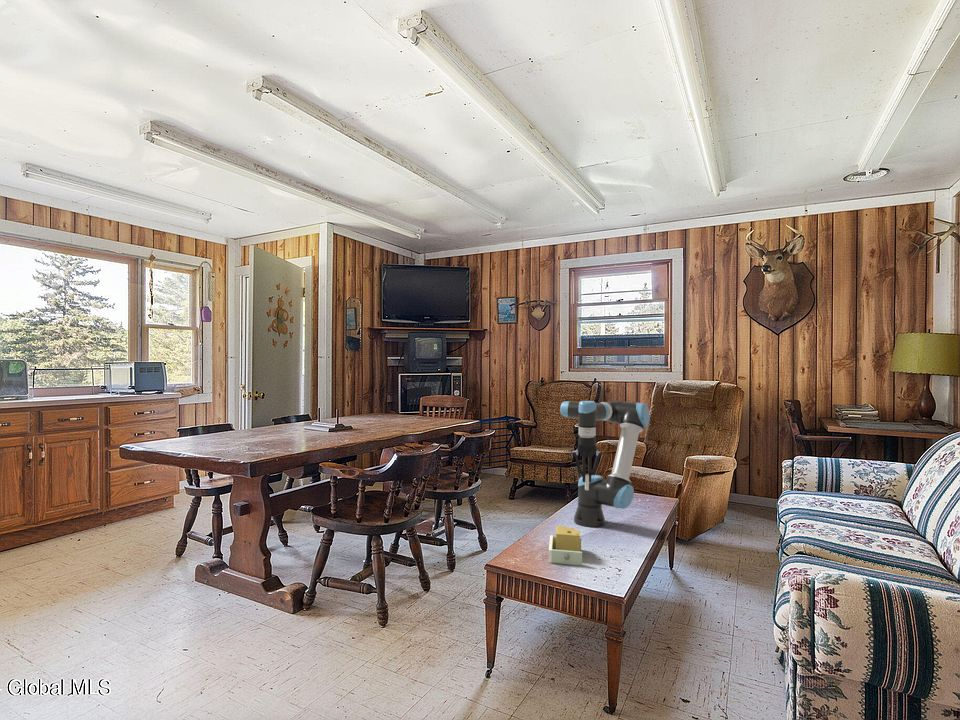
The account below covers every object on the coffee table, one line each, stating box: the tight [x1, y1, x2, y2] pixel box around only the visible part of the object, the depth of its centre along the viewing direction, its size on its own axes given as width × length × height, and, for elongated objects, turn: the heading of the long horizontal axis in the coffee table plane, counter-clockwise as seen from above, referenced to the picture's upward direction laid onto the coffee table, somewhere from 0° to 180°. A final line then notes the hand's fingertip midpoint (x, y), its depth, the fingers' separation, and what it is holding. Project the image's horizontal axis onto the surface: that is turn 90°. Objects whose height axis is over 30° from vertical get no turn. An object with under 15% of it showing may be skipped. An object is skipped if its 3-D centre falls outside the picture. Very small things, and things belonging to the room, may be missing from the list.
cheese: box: [555, 525, 581, 552], centre depth 214 cm, size 10×11×10 cm
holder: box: [548, 534, 583, 566], centre depth 212 cm, size 19×13×5 cm
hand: (586, 489), depth 226 cm, fingers closed
